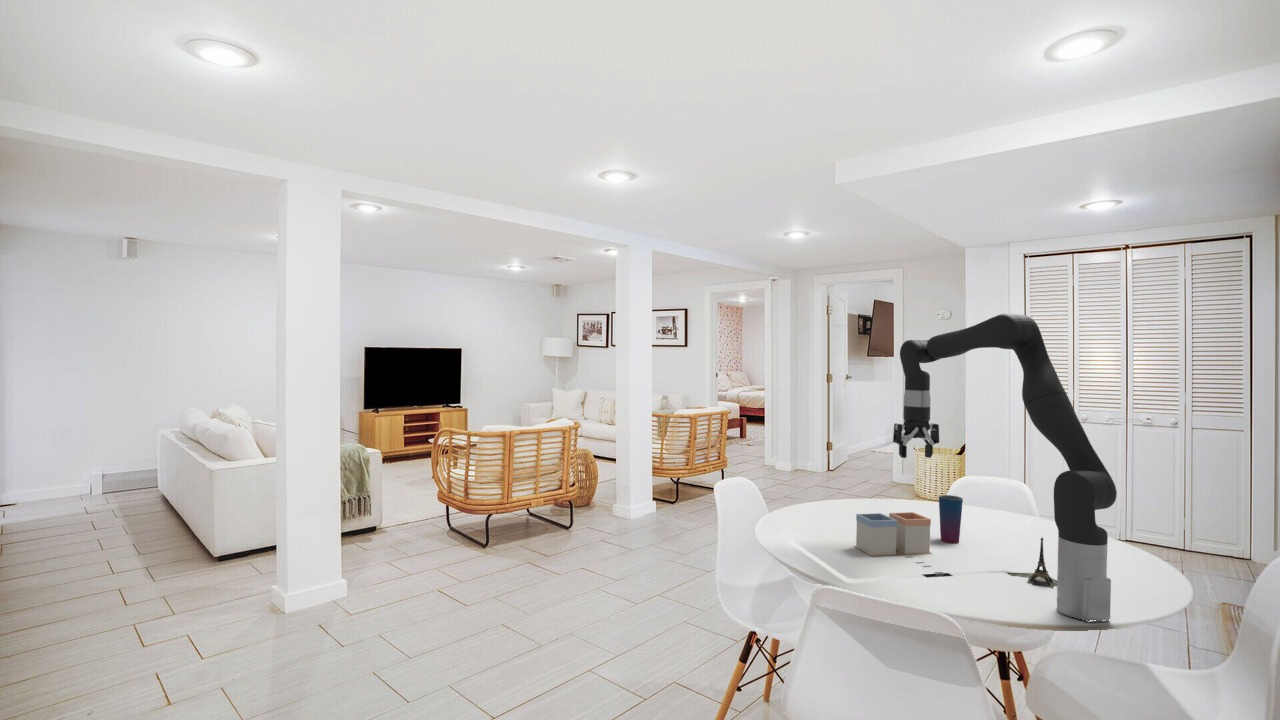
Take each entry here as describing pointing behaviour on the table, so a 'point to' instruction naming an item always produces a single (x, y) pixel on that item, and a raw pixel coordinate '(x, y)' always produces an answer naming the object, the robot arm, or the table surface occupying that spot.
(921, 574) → the mat
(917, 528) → the tube terracotta
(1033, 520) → the table surface
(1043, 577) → the eiffel tower figurine
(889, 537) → the tube slate
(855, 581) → the table surface
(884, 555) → the tube board
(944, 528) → the cup
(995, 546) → the table surface
